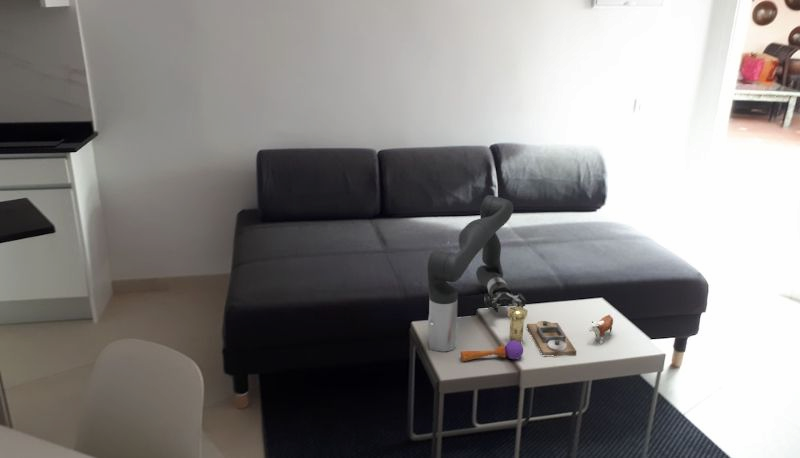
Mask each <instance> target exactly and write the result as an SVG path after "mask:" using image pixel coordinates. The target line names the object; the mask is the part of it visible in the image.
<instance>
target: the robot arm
mask: <svg viewBox="0 0 800 458" xmlns="http://www.w3.org/2000/svg"><path fill="white" fill-rule="evenodd" d="M479 210H480V211H479V212H480V214H479V215H480V216H479V217H480V218H478V219H473V220H472V221H470V222H469V223H467V224H466V226H464V227H463V229H462V230H461V231H460V232H459V234H458V246H459V249H460V251H459V252H457V253H456V252H455V253H453V252H450V251H444V250H440V249H438V250H437V249H436V250H433V251H432V252H431V253H430V255H429V257H428V260H427V270H426V271H427V290H428V295H429V299H428V300H429V304H428V305H429V307H428V308H429V311H428V312H429V313H428V317H427V318H428V320H427V321H428V322H427V323H428V324H427V343H428V347H429V350H433V351H437V352H450V351H452V350H454V349H456V347H457V340H458V339H457V330H458V329H457V328H458V295H459V294H458V293H459V292H458V290H457V288H455V287H454V286H453V285H451V284H450V283H455V282H458V281H459V280H460V278H462V276H463V275H464V273H465V271H467V268H468V267H469V265H470V264H471V262H472V261H473V260H474V258H475V257H476V256H477V254H478V253H479V252H480V251H481V250H482V254H481V257H482V258H481V260H482V262H483V264H482V265H480V266H478V267H477V268H476V272H475V275H476V278H477V281H478V282H479V283H480V284H481V285H483V286H484V287H486V288H487V293H488V294H489V295H488V294H484V295H483V296H484V297H483V298H484V299H483V300H484V301H483V302H484V305H485V307H486V308H487V309H488V308H491V309H492V310H493V312H495V313H498V312H499V306H500V305H509V306H510V307H519V306H521V307H522V308H524V307H526V298H525V297H524V296H523V294H522V293H519V292H518V293H517V295H515V294H513V293H512V290H511V289H510V287H509V285H508V284H507V282H506V281H505V280H504V279H503V277H504V271H503V267H502V264H501V253H502V252H501V251H502V245H501V241H500V239H499V237H498V235H497V232H498V231H499V230H501V228H502V227H503V226H505V225H506V224H507V222H508V221H509V220H510V218H511V216H512V215H513V212H514V205H513V203H512V202H511V201H510V200H509V199H506V198H501V197H499V196H495V195H490V194H489V195H486V196H485V197H484V198H483V200H482V202H481V205H480V209H479ZM449 282H450V283H449Z"/></svg>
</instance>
